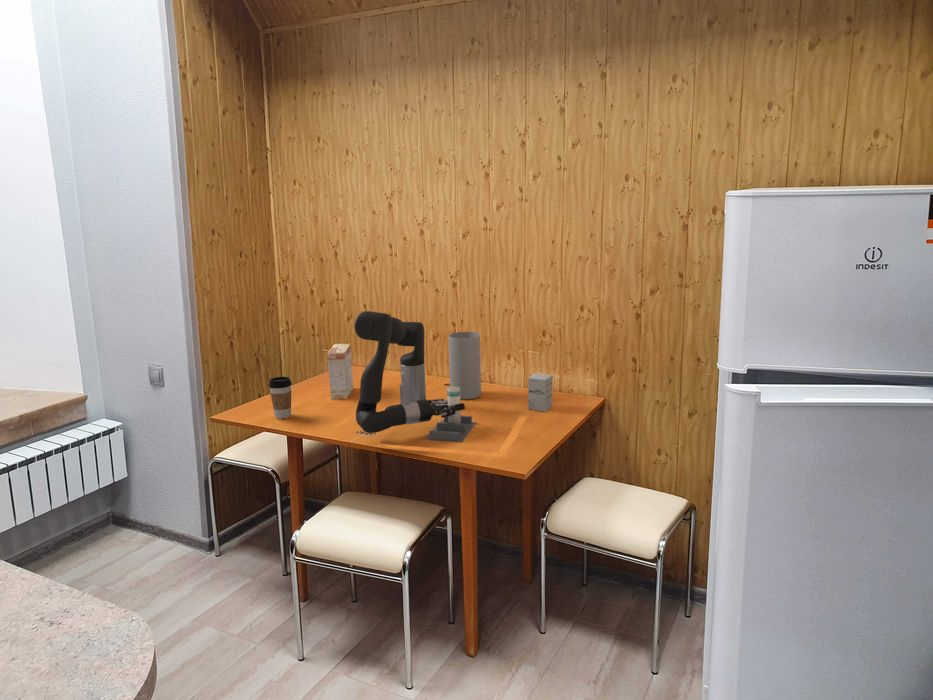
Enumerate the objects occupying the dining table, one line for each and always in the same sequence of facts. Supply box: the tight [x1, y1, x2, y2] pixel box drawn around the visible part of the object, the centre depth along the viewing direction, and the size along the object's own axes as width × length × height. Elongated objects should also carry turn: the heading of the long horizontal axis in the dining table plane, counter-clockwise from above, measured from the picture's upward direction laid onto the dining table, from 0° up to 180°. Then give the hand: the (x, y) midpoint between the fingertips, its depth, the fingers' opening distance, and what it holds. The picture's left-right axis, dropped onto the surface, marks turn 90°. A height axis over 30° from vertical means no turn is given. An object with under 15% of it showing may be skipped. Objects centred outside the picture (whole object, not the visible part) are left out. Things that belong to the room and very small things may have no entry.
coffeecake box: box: [326, 343, 354, 400], centre depth 298 cm, size 15×7×20 cm, turn 178°
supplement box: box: [527, 372, 553, 412], centre depth 274 cm, size 7×7×13 cm
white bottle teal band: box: [446, 386, 462, 424], centre depth 252 cm, size 5×5×14 cm
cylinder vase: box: [447, 331, 482, 401], centre depth 290 cm, size 12×12×25 cm
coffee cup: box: [268, 376, 292, 419], centre depth 272 cm, size 8×8×15 cm
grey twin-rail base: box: [423, 414, 478, 443], centre depth 250 cm, size 13×20×4 cm, turn 165°
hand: (461, 404), depth 253 cm, fingers closed on white bottle teal band, 4 cm apart
